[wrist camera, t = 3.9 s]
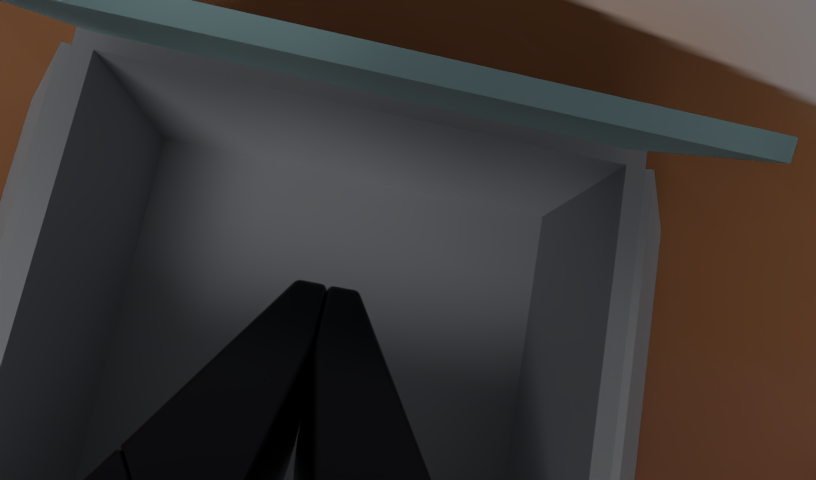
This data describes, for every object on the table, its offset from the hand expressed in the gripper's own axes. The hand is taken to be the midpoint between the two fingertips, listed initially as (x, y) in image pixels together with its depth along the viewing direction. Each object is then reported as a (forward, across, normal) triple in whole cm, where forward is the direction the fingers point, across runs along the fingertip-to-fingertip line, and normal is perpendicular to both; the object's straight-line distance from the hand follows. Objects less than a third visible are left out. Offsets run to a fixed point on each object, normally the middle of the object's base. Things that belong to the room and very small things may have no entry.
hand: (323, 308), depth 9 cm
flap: (+5, 0, -1) cm, 5 cm away
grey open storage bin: (+8, 0, +11) cm, 13 cm away
